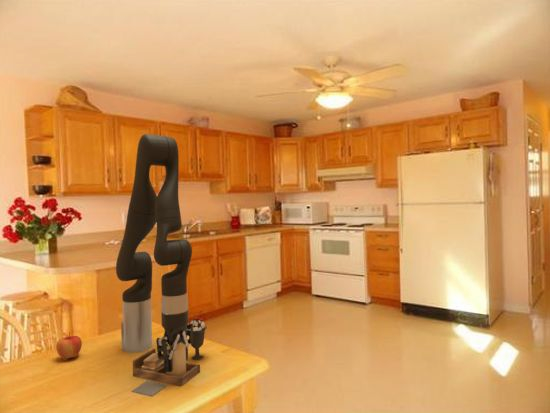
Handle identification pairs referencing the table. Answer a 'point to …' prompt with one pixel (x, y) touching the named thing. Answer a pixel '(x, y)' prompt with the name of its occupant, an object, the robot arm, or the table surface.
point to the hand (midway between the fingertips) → (176, 365)
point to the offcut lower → (153, 368)
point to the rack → (163, 372)
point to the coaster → (149, 388)
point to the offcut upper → (152, 361)
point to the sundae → (198, 336)
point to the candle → (178, 360)
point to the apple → (69, 347)
